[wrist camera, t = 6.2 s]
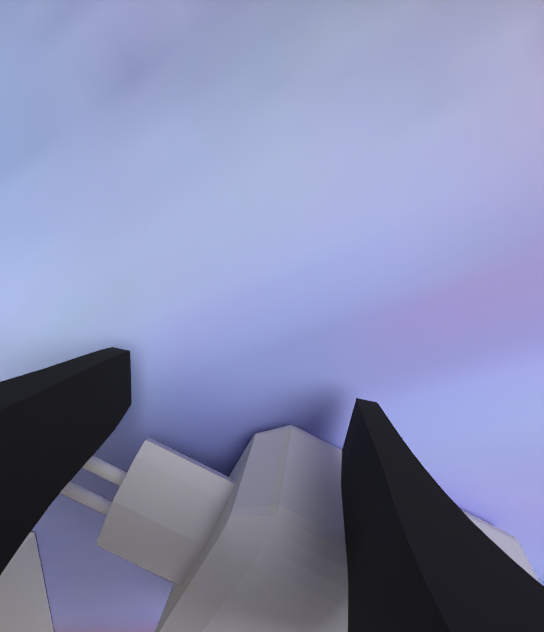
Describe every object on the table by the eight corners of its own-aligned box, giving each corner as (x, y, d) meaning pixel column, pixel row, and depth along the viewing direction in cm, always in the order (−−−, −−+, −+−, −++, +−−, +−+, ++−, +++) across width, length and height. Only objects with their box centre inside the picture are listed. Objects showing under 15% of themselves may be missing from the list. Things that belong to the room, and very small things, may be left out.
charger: (139, 334, 12) (508, 519, 13) (85, 492, 16) (372, 634, 16) (33, 417, 8) (600, 698, 8) (-8, 609, 12) (386, 801, 12)
